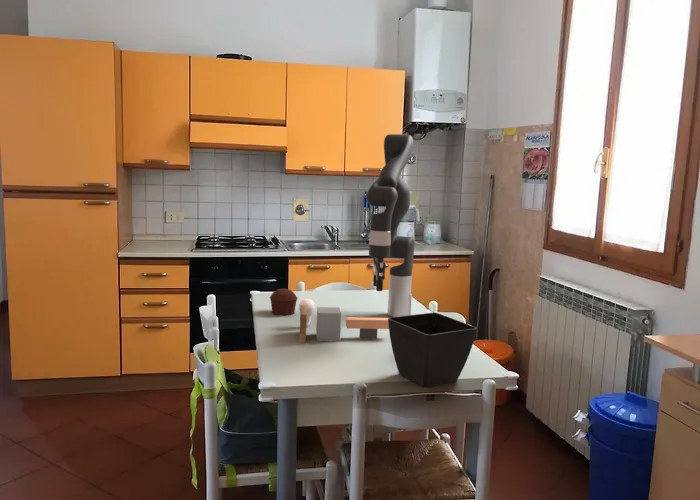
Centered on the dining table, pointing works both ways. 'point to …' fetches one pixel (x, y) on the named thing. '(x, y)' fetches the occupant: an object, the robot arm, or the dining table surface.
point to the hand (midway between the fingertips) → (377, 288)
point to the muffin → (283, 302)
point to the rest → (368, 333)
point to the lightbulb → (308, 309)
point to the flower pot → (430, 347)
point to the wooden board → (303, 323)
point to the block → (328, 324)
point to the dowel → (367, 323)
